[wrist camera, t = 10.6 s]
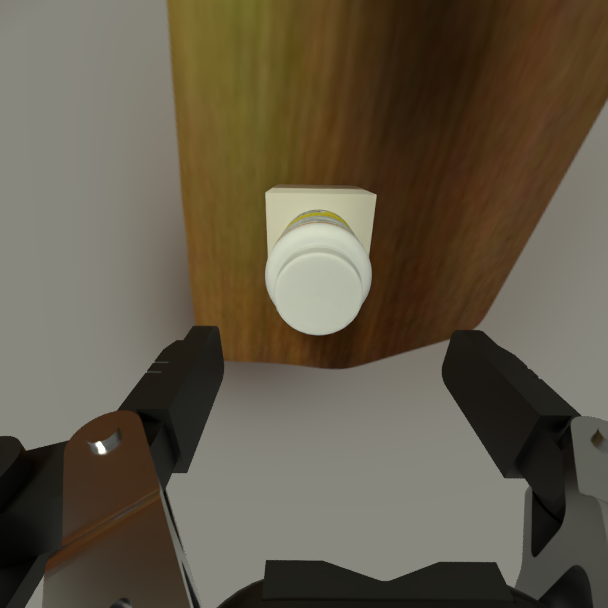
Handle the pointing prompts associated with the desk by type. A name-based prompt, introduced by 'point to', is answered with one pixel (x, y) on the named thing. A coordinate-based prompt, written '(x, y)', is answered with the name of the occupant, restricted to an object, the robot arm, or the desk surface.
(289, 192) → the tower top
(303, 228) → the supplement bottle
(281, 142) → the desk surface
